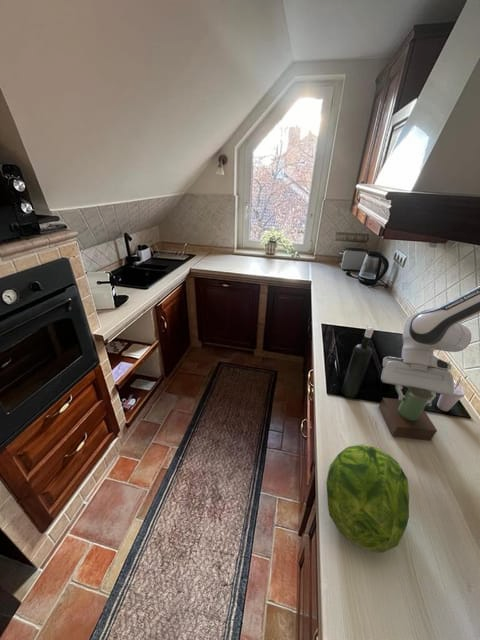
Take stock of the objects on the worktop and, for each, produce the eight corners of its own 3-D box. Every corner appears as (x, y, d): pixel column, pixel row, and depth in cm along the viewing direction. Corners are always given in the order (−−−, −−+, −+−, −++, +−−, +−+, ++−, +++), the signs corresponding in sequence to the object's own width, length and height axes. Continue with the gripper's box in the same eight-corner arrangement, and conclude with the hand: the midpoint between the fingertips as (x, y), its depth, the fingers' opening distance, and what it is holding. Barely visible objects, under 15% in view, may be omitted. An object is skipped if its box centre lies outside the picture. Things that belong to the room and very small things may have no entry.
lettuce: (424, 467, 66) (372, 410, 68) (441, 564, 46) (367, 479, 49) (365, 486, 75) (321, 435, 78) (358, 572, 56) (300, 501, 58)
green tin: (413, 406, 87) (424, 385, 82) (422, 421, 82) (435, 399, 77) (394, 404, 88) (404, 383, 83) (402, 419, 82) (414, 398, 77)
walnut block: (412, 410, 92) (417, 400, 89) (430, 440, 82) (437, 430, 79) (378, 407, 93) (382, 397, 90) (392, 436, 82) (397, 426, 80)
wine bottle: (345, 385, 102) (365, 321, 87) (359, 393, 99) (383, 328, 83) (338, 392, 99) (358, 327, 84) (352, 400, 95) (375, 334, 80)
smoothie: (432, 408, 93) (448, 380, 86) (432, 398, 97) (448, 370, 90) (453, 417, 90) (472, 388, 83) (453, 405, 94) (471, 377, 87)
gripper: (386, 353, 84) (383, 396, 81) (457, 365, 79) (457, 411, 76) (379, 356, 90) (376, 395, 87) (445, 367, 85) (444, 409, 82)
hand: (414, 403), depth 81 cm, fingers closed on green tin, 6 cm apart
